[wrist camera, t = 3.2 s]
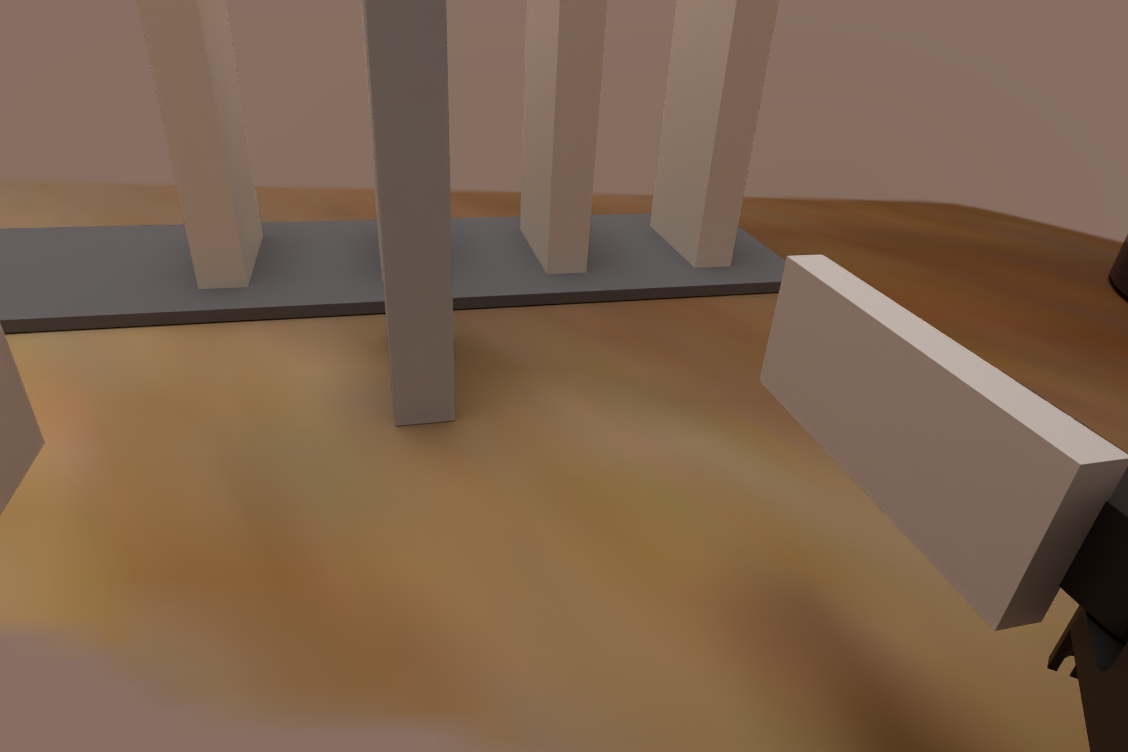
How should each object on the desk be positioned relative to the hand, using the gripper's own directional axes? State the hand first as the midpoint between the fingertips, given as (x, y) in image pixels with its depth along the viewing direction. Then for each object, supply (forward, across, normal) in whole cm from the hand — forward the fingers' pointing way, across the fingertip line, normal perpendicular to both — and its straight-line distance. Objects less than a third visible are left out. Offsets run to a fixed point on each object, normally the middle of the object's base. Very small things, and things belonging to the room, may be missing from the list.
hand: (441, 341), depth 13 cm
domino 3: (+20, +14, -6) cm, 25 cm away
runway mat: (+20, -1, -7) cm, 21 cm away
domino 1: (+20, -7, -6) cm, 22 cm away
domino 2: (+20, +7, -6) cm, 22 cm away
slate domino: (+10, 0, -7) cm, 12 cm away
